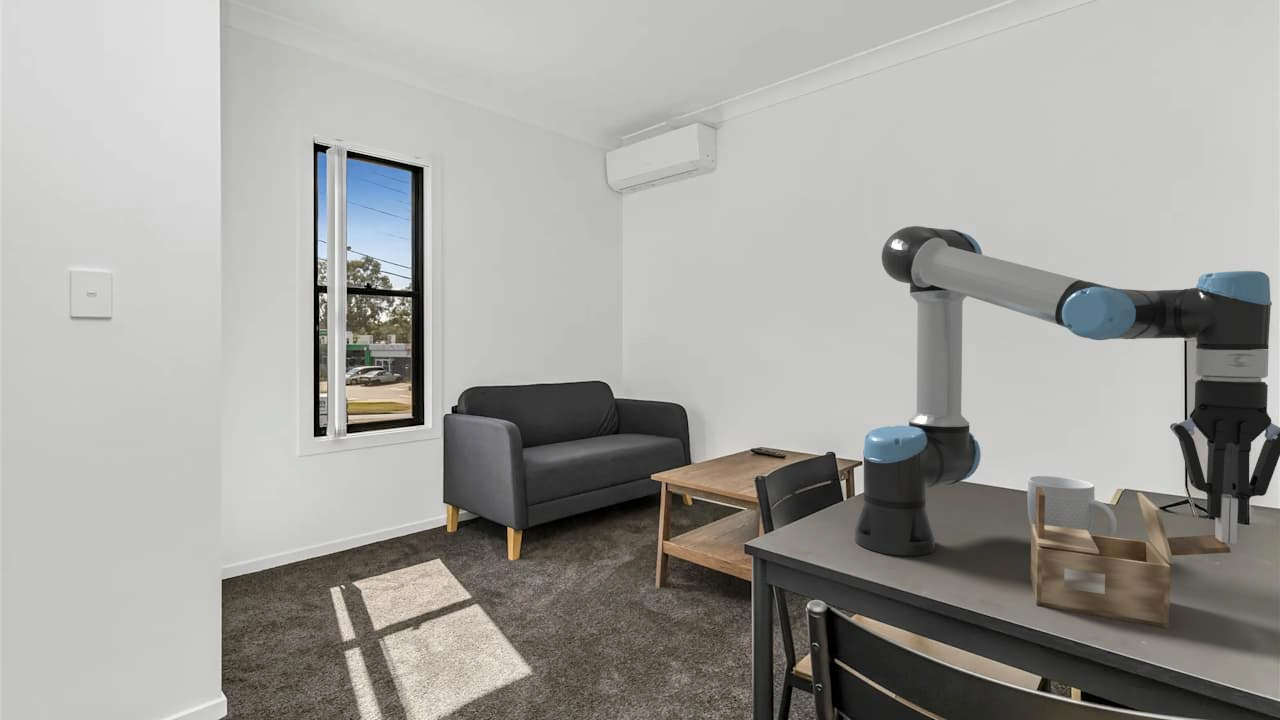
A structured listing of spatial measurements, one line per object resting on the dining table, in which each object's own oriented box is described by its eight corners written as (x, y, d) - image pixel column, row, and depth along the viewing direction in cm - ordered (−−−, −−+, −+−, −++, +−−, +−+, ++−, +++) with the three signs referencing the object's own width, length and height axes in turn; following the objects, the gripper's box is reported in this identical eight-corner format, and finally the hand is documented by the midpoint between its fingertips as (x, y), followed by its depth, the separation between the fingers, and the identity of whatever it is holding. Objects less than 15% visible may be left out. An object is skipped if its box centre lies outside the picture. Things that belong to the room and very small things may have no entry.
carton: (1036, 605, 95) (1037, 548, 95) (1030, 578, 105) (1031, 527, 105) (1168, 628, 87) (1170, 567, 87) (1147, 596, 98) (1149, 541, 97)
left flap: (1087, 533, 101) (1088, 488, 101) (1099, 554, 91) (1100, 504, 91) (1031, 526, 105) (1032, 483, 104) (1037, 545, 95) (1038, 498, 95)
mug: (1126, 554, 117) (1128, 487, 116) (1103, 566, 111) (1104, 495, 110) (1041, 533, 129) (1042, 473, 129) (1016, 543, 123) (1017, 479, 123)
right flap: (1154, 509, 88) (1222, 504, 84) (1137, 492, 98) (1197, 487, 94) (1169, 563, 87) (1238, 560, 84) (1150, 540, 97) (1211, 537, 93)
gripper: (1178, 379, 87) (1174, 540, 88) (1307, 382, 81) (1301, 556, 82) (1164, 376, 94) (1160, 526, 95) (1282, 379, 88) (1276, 539, 88)
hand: (1225, 540), depth 88 cm, fingers closed
